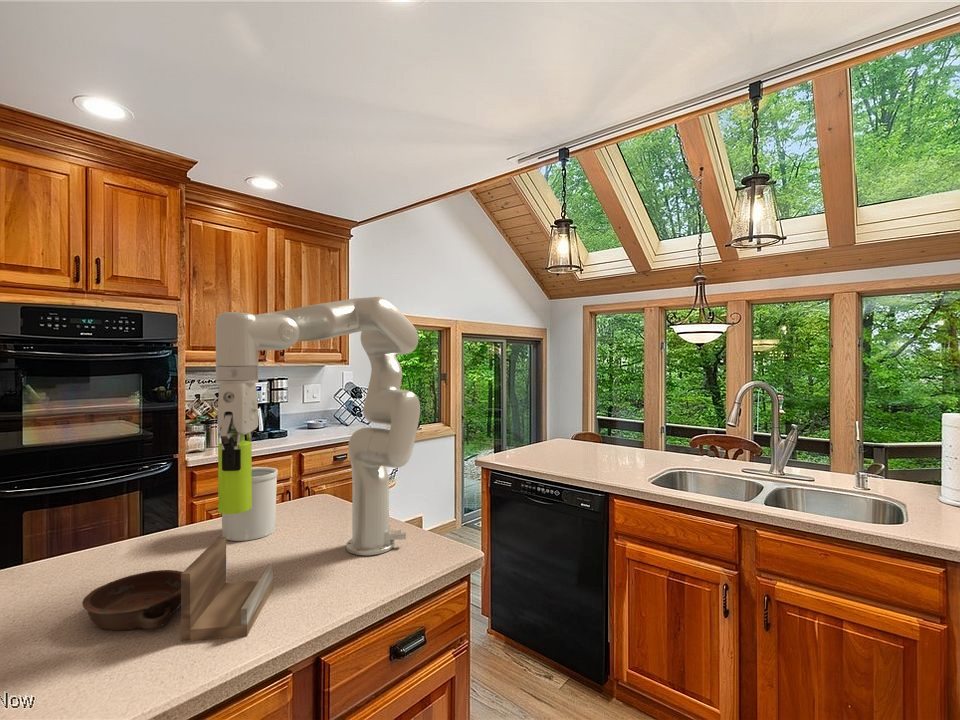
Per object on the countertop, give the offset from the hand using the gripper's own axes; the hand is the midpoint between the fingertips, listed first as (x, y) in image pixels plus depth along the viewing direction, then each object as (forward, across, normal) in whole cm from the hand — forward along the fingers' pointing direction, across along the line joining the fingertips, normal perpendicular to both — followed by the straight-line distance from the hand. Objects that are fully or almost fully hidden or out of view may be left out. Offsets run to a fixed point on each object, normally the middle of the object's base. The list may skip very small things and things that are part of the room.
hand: (237, 465), depth 96 cm
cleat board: (+29, 0, +1) cm, 29 cm away
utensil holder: (+29, +46, +11) cm, 56 cm away
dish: (+29, +3, +19) cm, 35 cm away
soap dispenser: (+9, 0, 0) cm, 9 cm away
